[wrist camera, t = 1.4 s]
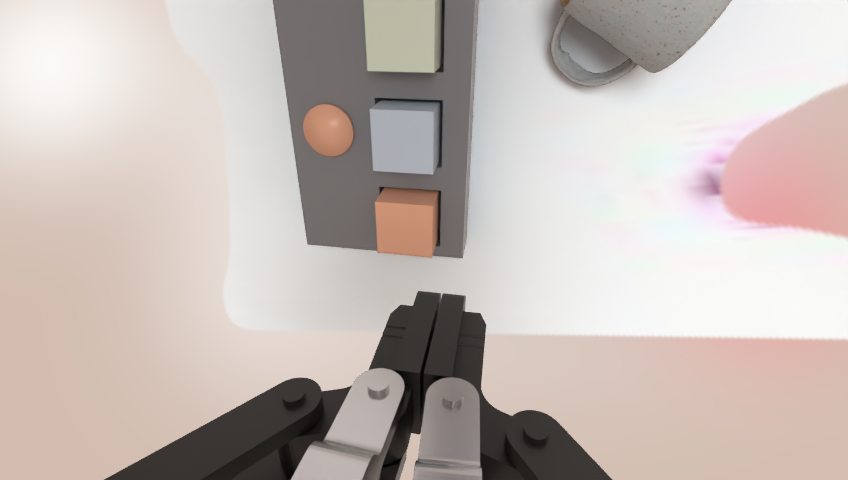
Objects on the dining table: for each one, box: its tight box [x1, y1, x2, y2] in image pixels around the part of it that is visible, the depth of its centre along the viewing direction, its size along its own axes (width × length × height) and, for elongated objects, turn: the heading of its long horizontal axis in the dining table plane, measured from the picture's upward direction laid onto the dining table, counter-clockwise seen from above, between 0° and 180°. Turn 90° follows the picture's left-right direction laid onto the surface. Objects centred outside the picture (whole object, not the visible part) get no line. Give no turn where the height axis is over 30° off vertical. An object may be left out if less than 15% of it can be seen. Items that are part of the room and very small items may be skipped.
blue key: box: [370, 100, 440, 175], centre depth 33 cm, size 4×4×3 cm
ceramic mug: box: [551, 0, 732, 86], centre depth 28 cm, size 11×8×8 cm
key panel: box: [273, 0, 479, 258], centre depth 36 cm, size 21×14×4 cm, turn 0°
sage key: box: [363, 0, 442, 73], centre depth 30 cm, size 4×4×3 cm
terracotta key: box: [375, 187, 439, 257], centre depth 36 cm, size 4×4×3 cm
